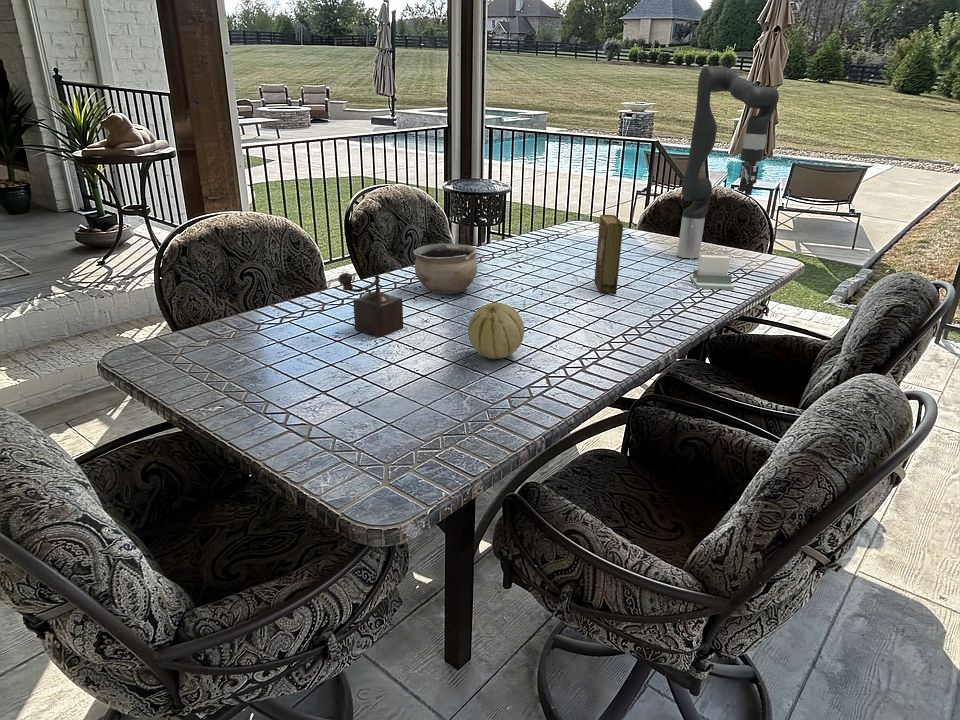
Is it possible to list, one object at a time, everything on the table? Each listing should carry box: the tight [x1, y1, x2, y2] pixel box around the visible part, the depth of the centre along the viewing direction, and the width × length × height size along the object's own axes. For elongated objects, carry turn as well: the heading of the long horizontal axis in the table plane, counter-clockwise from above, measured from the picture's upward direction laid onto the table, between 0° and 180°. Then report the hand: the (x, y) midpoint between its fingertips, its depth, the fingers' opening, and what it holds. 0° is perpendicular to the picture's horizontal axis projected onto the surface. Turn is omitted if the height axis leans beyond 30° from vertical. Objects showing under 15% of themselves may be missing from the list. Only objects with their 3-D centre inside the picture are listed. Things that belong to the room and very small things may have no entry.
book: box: [593, 214, 624, 295], centre depth 225 cm, size 16×6×25 cm, turn 179°
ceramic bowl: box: [413, 242, 478, 295], centre depth 221 cm, size 22×22×15 cm
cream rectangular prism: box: [697, 254, 731, 275], centre depth 235 cm, size 3×10×9 cm, turn 84°
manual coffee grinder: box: [337, 272, 404, 338], centre depth 182 cm, size 16×11×18 cm
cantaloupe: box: [467, 302, 525, 360], centre depth 167 cm, size 15×15×15 cm
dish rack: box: [688, 269, 735, 291], centre depth 236 cm, size 14×13×4 cm
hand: (744, 193), depth 236 cm, fingers open, 8 cm apart
